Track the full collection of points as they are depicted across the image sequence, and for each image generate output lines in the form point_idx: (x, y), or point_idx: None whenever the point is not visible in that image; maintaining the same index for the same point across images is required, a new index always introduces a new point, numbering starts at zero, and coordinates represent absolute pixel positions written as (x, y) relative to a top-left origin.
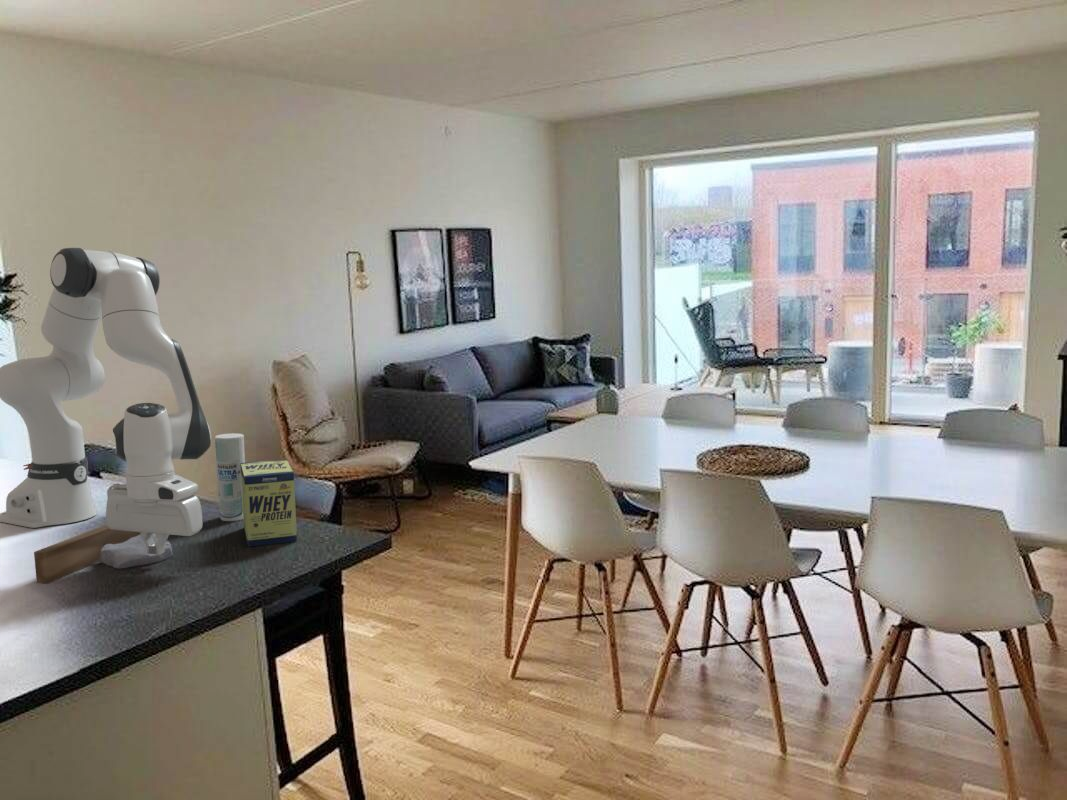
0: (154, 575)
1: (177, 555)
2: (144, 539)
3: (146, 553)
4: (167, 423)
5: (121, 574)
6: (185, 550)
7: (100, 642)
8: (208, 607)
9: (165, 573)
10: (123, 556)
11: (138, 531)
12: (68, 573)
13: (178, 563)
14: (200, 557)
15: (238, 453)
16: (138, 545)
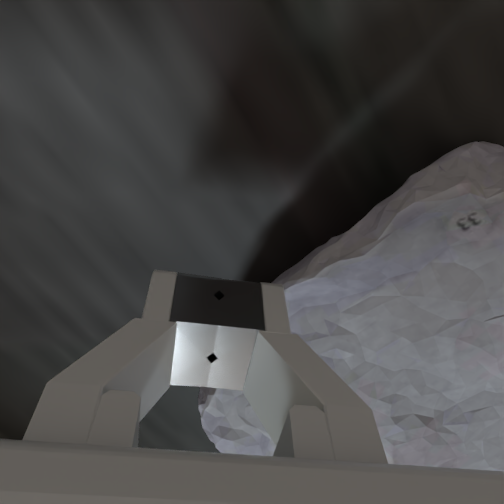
0: (78, 9)
1: (193, 389)
2: (315, 383)
3: (316, 313)
4: None
5: (404, 12)
6: (197, 443)
7: None
8: None
9: (18, 74)
10: (471, 186)
11: (405, 467)
12: None
13: (89, 284)
14: (32, 377)
15: None
16: (417, 388)
